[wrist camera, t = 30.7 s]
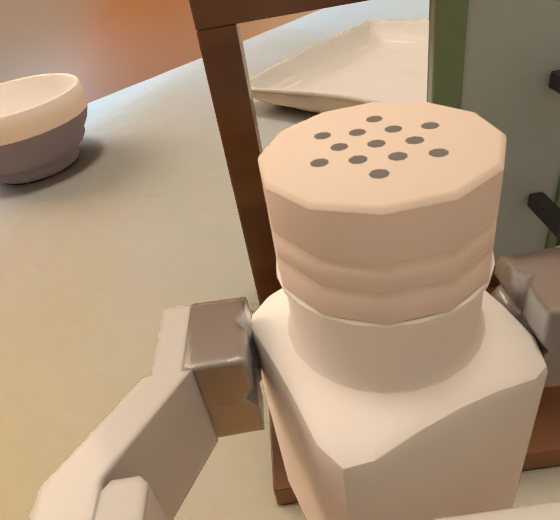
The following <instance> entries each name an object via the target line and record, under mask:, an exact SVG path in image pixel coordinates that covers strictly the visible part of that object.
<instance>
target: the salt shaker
mask: <svg viewBox="0 0 560 520" xmlns="http://www.w3.org/2000/svg"><path fill="white" fill-rule="evenodd" d="M506 140H507V138H506V136H505V134H504V133H502V132H501V131H500V130H498V129H497V128H496V127H494V126H493V125H491V124H490V123H489V122H487V121H486V120H484V119H483V118H482V117H480V116H479V115H478V114H476V113H475V112H470V111H466V110H461V109H456V108H452V107H447V106H442V105H438V104H433V103H429V102H371V103H366V104H361V105H356V106H351V107H346V108H341V109H336V110H331V111H326V112H322V113H320V114H318V115H316V116H313V117H311V118H309V119H307V120H305V121H302V122H300V123H298V124H296V125H294V126H291V127H289V128H287V129H285V130H282V131H281V132H280V133H279V134H278V135H277V136H276V137H275V138H274V140H273V141H272V142H271V143H270V144H269V145H268V146H267V147H266V149H265V150H264V151H263V152H262V153H261V154H260V155H259V157H258V164H259V169H260V174H261V179H262V185H263V190H264V195H265V200H266V205H267V211H268V216H269V221H270V226H271V231H272V237H273V242H274V248H275V253H276V272H277V278H278V280H279V282H280V284H281V286H282V289H280V290H278V291H277V292H275V293H273V294H272V295H270V296H269V297H268V298H267V299H266V300H265V301H264V302H263V304H262V305H261V306H260V307H259V308H258V309H257V311H256V312H255V313H254V314H253V315H252V320H251V330H252V339H253V341H254V343H255V345H256V349H257V353H258V357H259V361H260V365H261V371H262V381H263V385H264V389H265V393H266V397H267V401H268V404H269V408H270V412H271V416H272V420H273V424H274V427H275V431H276V435H277V439H278V443H279V447H280V451H281V454H282V458H283V462H284V466H285V470H286V474H287V477H288V481H289V483H290V485H291V487H292V490H293V492H294V494H295V496H296V498H297V500H298V502H299V504H300V506H301V508H302V511H303V513H304V515H305V517H306V519H307V520H432V519H439V518H446V517H453V516H460V515H467V514H474V513H481V512H488V511H495V510H502V509H509V508H512V506H513V502H514V498H515V494H516V491H517V487H518V483H519V479H520V476H521V472H522V468H523V464H524V460H525V457H526V453H527V449H528V445H529V441H530V438H531V434H532V430H533V426H534V422H535V419H536V415H537V411H538V407H539V403H540V400H541V396H542V392H543V388H544V384H545V381H546V377H547V373H548V370H547V366H546V363H545V361H544V358H543V356H542V354H541V351H540V349H539V346H538V344H537V341H536V339H535V338H534V337H533V336H532V335H531V334H530V333H529V332H528V331H527V330H526V329H525V328H524V327H523V326H522V324H521V323H520V322H519V321H518V320H517V319H516V318H515V317H514V316H513V315H512V314H511V313H510V312H509V311H508V310H507V309H506V308H505V307H504V306H503V305H502V304H501V303H500V302H498V301H497V300H496V299H495V298H494V297H492V296H491V295H490V294H489V293H488V292H487V291H485V290H486V288H487V287H488V285H489V282H490V279H491V276H492V273H493V270H494V266H495V261H494V254H493V246H494V239H495V232H496V223H497V217H498V209H499V202H500V195H501V187H502V180H503V172H504V163H505V151H506Z"/></svg>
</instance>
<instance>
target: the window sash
mask: <svg viewBox="0 0 560 520" xmlns="http://www.w3.org/2000/svg"><path fill="white" fill-rule="evenodd" d="M427 102H429V103H433V104H438V105H442V106H447V107H452V108H456V109H461V110H466V111H470V112H475V113H476V114H478V115H479V116H480V117H482V118H483V119H484V120H486V121H487V122H489V123H490V124H491V125H493V126H494V127H496V128H497V129H498V130H500V131H501V132H502V133H504V134H505V136H506V138H507V140H506V151H505V163H504V172H503V180H502V187H501V195H500V202H499V209H498V217H497V223H496V232H495V239H494V246H493V254H494V261H495V266H496V262H497V261H498V259H499V257H500V256H506V255H512V254H518V253H525V252H531V251H537V250H543V249H549V248H555V247H557V246H560V0H430V5H429V38H428V72H427Z"/></svg>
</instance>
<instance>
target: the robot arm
mask: <svg viewBox="0 0 560 520" xmlns="http://www.w3.org/2000/svg"><path fill="white" fill-rule="evenodd" d="M494 275H495V276H496V278H497V279H498V281H499V282H500V284H499V285H498V287H497V288H496V289H495V290H494V291H493V292H492V293H491V296H492V297H494V298H495V299H496V300H497V301H498V302H500V303H501V304H502V305H503V306H504V307H505V308H506V309H507V310H508V311H509V312H510V313H511V314H512V315H513V316H514V317H515V318H516V319H517V320H518V321H519V322H520V323H521V324H522V326H523V327H524V328H525V329H526V330H527V331H528V332H529V333H530V334H531V335H532V336H533V337H534V338H535V339H536V341H537V344H538V346H539V349H540V351H541V354H542V356H543V358H544V361H545V363H546V366H547V370H548V373H547V377H546V381H545V384H544V387H552V386H560V246H557V247H555V248H549V249H543V250H537V251H531V252H525V253H518V254H512V255H506V256H500V257H499V259H498V261H497V262H496V266H495V272H494ZM261 379H262V371H261V365H260V361H259V357H258V353H257V349H256V345H255V343H254V341H253V339H252V330H251V312H250V308H249V305H248V301H247V299H246V297H240V298H233V299H225V300H218V301H211V302H203V303H196V304H193V305H184V306H177V307H170V308H166V309H165V311H164V312H163V314H162V318H161V323H160V329H159V334H158V339H157V345H156V350H155V355H154V361H153V366H152V372H151V376H146V377H142V378H141V379H140V380H139V381H138V383H137V384H136V385H135V386H134V387H133V388H132V389H131V390H130V391H129V392H128V393H127V394H126V396H125V397H124V398H123V399H122V400H121V401H120V402H119V403H118V404H117V405H116V406H115V407H114V408H113V410H112V411H111V412H110V413H109V414H108V415H107V416H106V417H105V418H104V419H103V420H102V421H101V423H100V424H99V425H98V426H97V427H96V428H95V429H94V430H93V431H92V432H91V433H90V434H89V435H88V437H87V438H86V439H85V440H84V441H83V442H82V443H81V444H80V445H79V446H78V447H77V448H76V450H75V451H74V452H73V453H72V454H71V455H70V456H69V457H68V458H67V459H66V460H65V461H64V462H63V464H62V465H61V466H60V467H59V468H58V469H57V470H56V471H55V472H54V473H53V474H52V475H51V477H50V478H49V479H48V480H47V481H46V482H45V483H44V484H43V485H42V486H41V487H40V489H39V492H38V495H37V498H36V500H35V503H34V506H33V509H32V512H31V515H30V518H29V520H173V519H174V517H175V515H176V513H177V512H178V510H179V508H180V506H181V505H182V503H183V501H184V499H185V498H186V496H187V494H188V492H189V491H190V489H191V487H192V485H193V484H194V482H195V480H196V478H197V477H198V475H199V473H200V471H201V470H202V468H203V466H204V464H205V463H206V461H207V459H208V457H209V456H210V454H211V452H212V450H213V449H214V447H215V445H216V443H217V442H218V438H217V437H223V436H229V435H234V434H240V433H245V432H251V431H257V430H262V429H264V409H263V396H262V392H261V388H260V384H259V382H260V381H261ZM432 520H560V501H559V502H552V503H545V504H538V505H531V506H524V507H517V508H509V509H502V510H495V511H488V512H481V513H474V514H467V515H460V516H453V517H446V518H439V519H432Z"/></svg>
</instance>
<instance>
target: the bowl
mask: <svg viewBox="0 0 560 520" xmlns="http://www.w3.org/2000/svg"><path fill="white" fill-rule="evenodd" d="M87 103H88V101H87V98H86V94H85V91H84V89H83V87H82V85H81V83H80V81H79V79H78V78H77V77H76V76H74V75H71V74H65V73H64V74H63V73H54V74H42V75H36V76H29V77H24V78H19V79H15V80H10V81H7V82H2V83H0V182H2V183H7V184H22V183H29V182H33V181H38V180H41V179H44V178H47V177H49V176H52V175H54V174H56V173H59V172H60V171H62V170H64V169H65V168H67V167H68V166H70V165H71V164H72V163H73V162H74V161H75V160H76V159H77V158H78V156H79V152H80V148H79V144H80V142H81V141H82V139H83V136H84V132H85V128H84V124H85V121H86V117H87Z"/></svg>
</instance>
